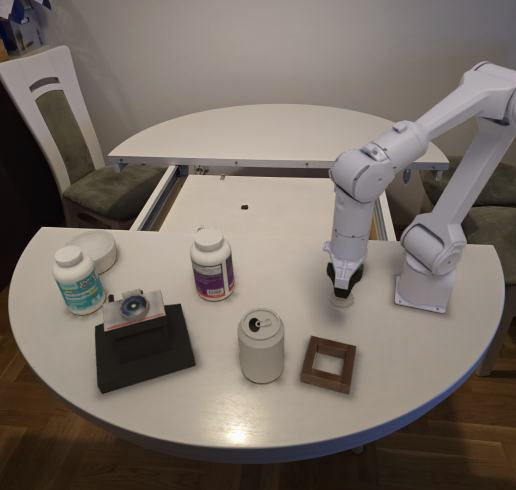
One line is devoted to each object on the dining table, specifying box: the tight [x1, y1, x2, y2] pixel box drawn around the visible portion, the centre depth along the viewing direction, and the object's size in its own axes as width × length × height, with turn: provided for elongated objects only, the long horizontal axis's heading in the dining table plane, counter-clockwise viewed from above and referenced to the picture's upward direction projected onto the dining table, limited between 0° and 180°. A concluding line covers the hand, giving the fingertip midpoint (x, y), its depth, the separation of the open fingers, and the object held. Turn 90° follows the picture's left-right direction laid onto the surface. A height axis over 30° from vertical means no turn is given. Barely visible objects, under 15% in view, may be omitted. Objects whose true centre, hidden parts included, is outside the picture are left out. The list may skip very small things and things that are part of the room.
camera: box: [94, 288, 197, 395], centre depth 70 cm, size 16×14×15 cm
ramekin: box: [64, 229, 117, 275], centre depth 91 cm, size 11×11×5 cm
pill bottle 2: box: [189, 226, 236, 302], centre depth 81 cm, size 8×8×14 cm
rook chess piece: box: [328, 289, 355, 312], centre depth 70 cm, size 4×4×8 cm
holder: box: [300, 335, 357, 395], centre depth 69 cm, size 8×8×2 cm
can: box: [237, 307, 285, 384], centre depth 66 cm, size 8×8×12 cm
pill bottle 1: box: [51, 246, 106, 316], centre depth 79 cm, size 8×7×14 cm
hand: (342, 288), depth 70 cm, fingers closed on rook chess piece, 3 cm apart
